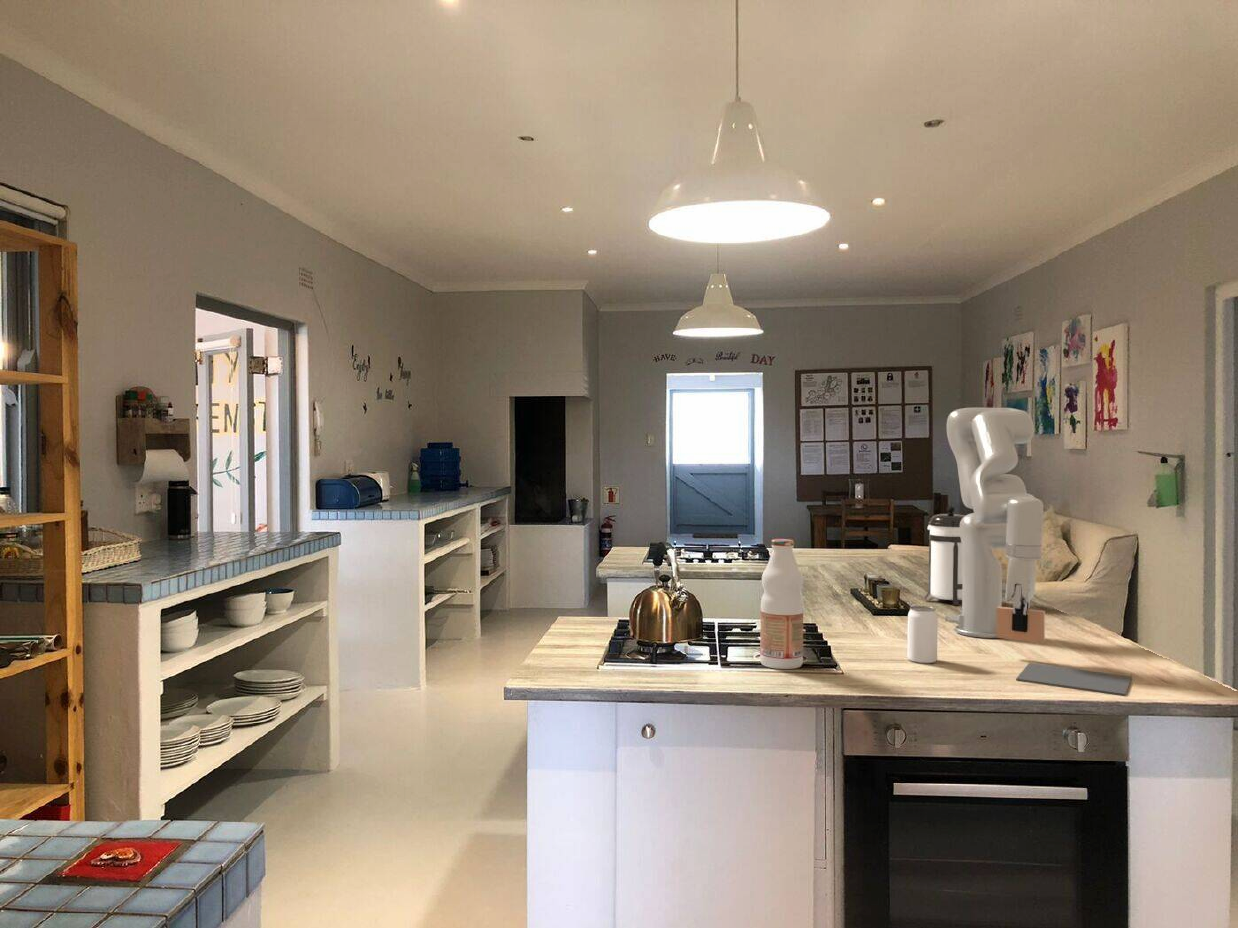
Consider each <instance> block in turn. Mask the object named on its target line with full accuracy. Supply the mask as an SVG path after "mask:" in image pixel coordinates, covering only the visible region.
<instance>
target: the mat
mask: <svg viewBox="0 0 1238 928" xmlns="http://www.w3.org/2000/svg"><path fill="white" fill-rule="evenodd" d="M1015 680H1016V681H1017V682H1024V683H1032V684H1040V685H1045V686H1046V685H1047V686H1053V687H1060V688H1069V689H1075V690H1081V691H1087V692H1088V691H1089V692H1096V693H1101V694H1107V695H1108V694H1109V695H1114V696H1115V695H1117V696H1124V697H1126V696H1127V692H1128V689H1129V687H1130V684H1131V681H1132V675H1125V674H1117V673H1109V672H1104V671H1103V672H1102V671H1095V670H1087V669H1079V668H1078V669H1077V668H1071V667H1064V666H1056V665H1049V664H1042V663H1041V664H1040V663H1034V662H1029V663H1028V664H1027V665H1026V666H1025V668H1024V669H1023V670H1022V671H1021V672H1020V673H1019V674H1018V676H1017V677H1016V679H1015Z"/></svg>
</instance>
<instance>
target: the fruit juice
mask: <svg viewBox="0 0 1238 928" xmlns="http://www.w3.org/2000/svg"><path fill="white" fill-rule="evenodd" d="M794 546H795V543H794V540H793V539H790V538H789V539H787V538H774V539H771V548H772V552H771V554H770V557H769V559H768V563H767V564H766V567H765V569H764V570H763V573H762V575H761V585H762V589H763V594H762V595H761V599H760V600H761V601H760V632H759V633H760V639H759V640H760V642H759V643H760V646H759V648H760V650H759V651H760V652H759V653H760V654H759V658H760V660H759V661H760V663H761V665H763V666H764V667H766V668H769V669H771V668H772V669H776V670H777V669H778V670H794V669H795V670H796V669H798V668H801V667H802V665H803V662H804V600H803V596H802V594H801V593H802V592H801V591H802V589H803V585H804V577H803V574H802V572H801V570H800V569H799V565H798V563H797V560H796V558H795V554H794V552H793V549H794Z"/></svg>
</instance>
